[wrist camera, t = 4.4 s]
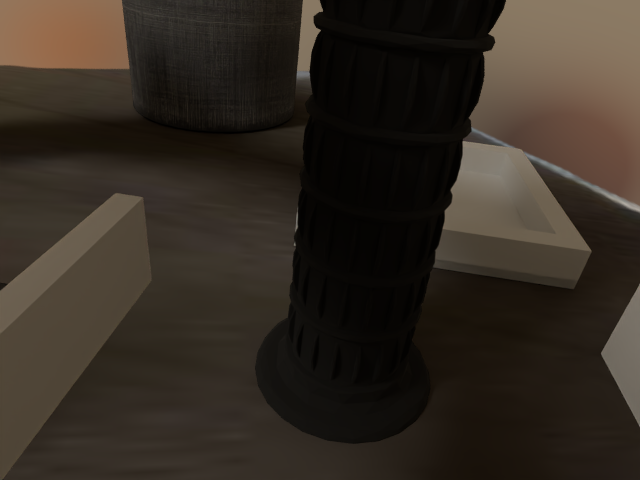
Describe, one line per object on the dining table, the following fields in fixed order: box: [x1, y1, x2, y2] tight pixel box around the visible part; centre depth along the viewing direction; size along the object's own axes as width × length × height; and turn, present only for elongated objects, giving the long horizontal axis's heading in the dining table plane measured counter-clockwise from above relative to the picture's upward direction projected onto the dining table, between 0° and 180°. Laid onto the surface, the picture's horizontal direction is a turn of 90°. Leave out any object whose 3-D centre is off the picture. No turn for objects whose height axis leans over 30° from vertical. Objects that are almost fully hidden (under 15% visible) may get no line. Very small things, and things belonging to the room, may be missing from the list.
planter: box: [122, 0, 303, 132], centre depth 62 cm, size 22×22×20 cm
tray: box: [294, 141, 592, 289], centre depth 46 cm, size 22×22×4 cm
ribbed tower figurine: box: [255, 0, 506, 443], centre depth 21 cm, size 10×26×10 cm
